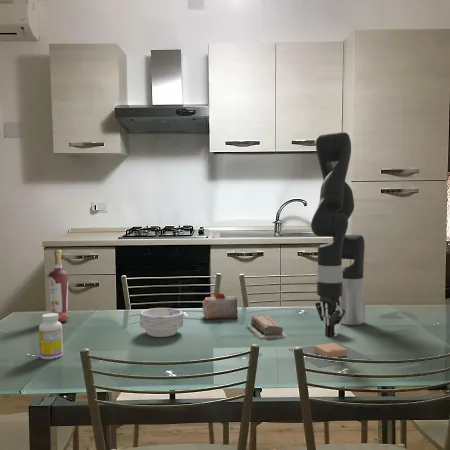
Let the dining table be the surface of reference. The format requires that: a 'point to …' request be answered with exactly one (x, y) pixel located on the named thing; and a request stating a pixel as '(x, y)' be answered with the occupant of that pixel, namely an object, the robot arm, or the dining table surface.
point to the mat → (324, 363)
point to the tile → (330, 350)
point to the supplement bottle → (50, 337)
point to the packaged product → (265, 328)
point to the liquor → (59, 289)
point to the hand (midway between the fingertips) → (329, 336)
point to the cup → (335, 329)
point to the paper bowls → (161, 321)
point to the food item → (220, 307)
